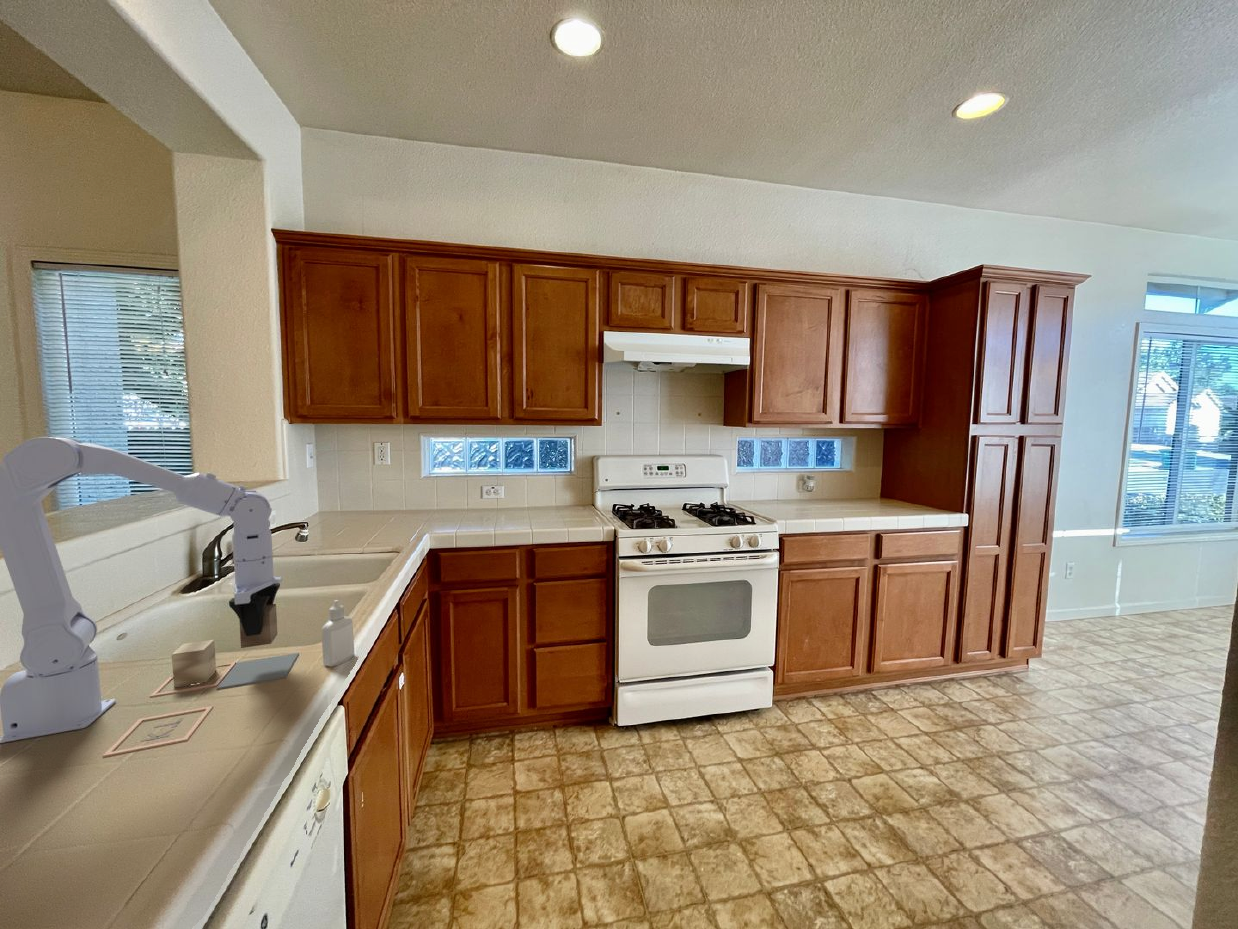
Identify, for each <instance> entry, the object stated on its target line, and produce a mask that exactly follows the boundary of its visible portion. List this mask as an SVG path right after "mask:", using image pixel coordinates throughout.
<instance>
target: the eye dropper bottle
mask: <svg viewBox="0 0 1238 929" xmlns="http://www.w3.org/2000/svg"><path fill="white" fill-rule="evenodd" d="M328 612H329V620H327V622H326V623H325V624H323V626H322V628H321V644H322V648H321V649H322V662H323V663H322V664H323V666H325V667H331V668H333V667H336V666H339V665H342V664H345V662H347V661H349V660H350V659H352V658H353V657H354V655H355V642H354V641H355V639H354V638H355V637H354V625H353V624H354V620H353V619H352V618H351V617H350V616H345V606H344V605H342V604H340V602H339V599H335V600H334V601H333V605H332V606H331V607H330V608H329V611H328Z"/></svg>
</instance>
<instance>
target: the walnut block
mask: <svg viewBox="0 0 1238 929" xmlns="http://www.w3.org/2000/svg"><path fill="white" fill-rule="evenodd" d="M277 617H278V616H277V604H276V603H273V604H271V605H266V606H265V610H264V616H263V626H262V631H261V633H260V634H259V635H252V636H246V634H245V632H244V630H243V627H242V624H241V622H240V619H239V618H238V620H239V634H240V635H239V636H240V648H241V649H244V648H252V647H258V646H264V645H271V644H272V643H273V641H275V639H276V637H277V636H278V618H277Z"/></svg>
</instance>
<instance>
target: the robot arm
mask: <svg viewBox="0 0 1238 929" xmlns="http://www.w3.org/2000/svg"><path fill="white" fill-rule="evenodd" d="M79 474H80V476H95V475H97V476H98V475H115V476H118V477H121V478H124V479H128V480H131V481H133V482H138V483H141V484H144V485H147V486H151V487H154V488H158V489H161V490H164V491H167V492H170V493H173V494H174V495H175V497H176V500H177V502H178V503H179V504H182V505H185V506H187V507H192V508H194V509H197V510H199V511H203V512H207V513H210V514H212V515H216V516H220V517H226V516H227V517H230V520H232V521H233V523H232V524H233V533H232V536H231V539H232V540H231V541H232V556H233V568H234V569H233V570H234V582H235V583H233V589H234V593H233V598H231V599H230V600H229V601H228V605H229V608H231V609H232V611H234V613H235V614H236V616H237V617H238V620H239V619H240V621H239V623H240V622H241V624H242V627H243V630H244V632H245V634H246V636H252V635H259V634H260V633H261V631H262V626H263V616H264V610H265V606H266V605H271V604H274V601H275V598H276V596H277V593H278V591H279V589H280V587H281V582H282V580H283V579H282V578H283V577H282V576H275V574H274V572H275V571H274V557H273V554H274V553H273V538H272V531H271V529H270V527H271V522H270V520H269V518H270V516H271V514H272V508H271V505H270V503H269V500H268V499H267V498H266V496H265V495H263V494H261V493H259V492H258V491H256V490H253V489H252V490H247V489H248V487H247V486H245V485H243V484H240V486H237V485H234V484H232V483H229V482H226V481H224V480H221V479H218V478H217V474H214V473H211V472H207V473H206V474H204V473H202V472H195V473H192V474H188V475H183V474H181V473H178V472H175V471H173V470H170V469H167V468H164V467H163V466H160V465H157V464H155V463H152V462H150V461H146V460H144V459H141V458H138V457H136V456H134V455H131V454H128V453H125V452H123V451H120V450H118V449H114V448H110V447H107V446H103V445H99V444H97V443H96V444H95V443H91V442H82V441H81V440H78V439H76V438H73V437H68V436H54V437H50V436H41V437H40V436H39V437H33V438H30V439H27V440H24V441H23V442H21V443H19V445H17V446H15V447H14V448H13V449H12V450H10V451H9V452H7V453H6V454H4V455H3V456H2V458H1V463H0V551H1V553H2V556H3V558H4V562H5V565H6V568H7V571H8V573H9V576H10V579H11V582H12V585H13V588H14V592H15V594H16V596H17V599H18V602H19V604H20V605H19V606H20V607H21V610H22V613H23V617H22V618H23V619H22V623H21V624H22V625H21V635H22V638H23V647H22V649H21V651H20V654H19V660H20V664H21V665H22V667H23V668H24V670H20V671H17V672H14V673H13V674H12V675H10V676H9V677H8V678H6V680H5V682H4V683H3V685H2V688H1V690H0V714H1V715H0V716H1V725H2V726H1V727H2V737H1V738H0V744H2V743H7V742H13V741H18V740H19V741H20V740H25V739H31V738H37V737H41V736H47V735H53V734H58V733H63V732H70V731H75V730H81V729H85V728H87V727H88V726H89V725H91V724H92V723H93V722H94V721H96V719H97V718H99V717H100V716H101V715H103V713H104V712H106V711H107V710H108V709H109V708H110V707H112V705H114V704H116V702H117V700H116V698H112V699H105V700H102V693H101V692H102V691H101V681H100V680H101V678H100V671H99V670H100V669H99V658H98V657H99V656H98V655H99V654H98V653H97V652H96V651H95V650H94V649H92V647H91V646H90V644H92V642H93V641H94V640H95V638H96V636H97V633H98V627H97V624H96V622H95V621H94V620H93V619H92V618H90V617H89V616H88V615H86V614H85V612H84V611H83V609H82V608H83V607H82V605H81V604H80V603H79V602H78V601H77V600H76V599H75V598H74V597H73V594H72V591H71V588H70V585H69V581H68V579H67V575H66V573H65V570H64V567H63V564H62V561H61V557H60V555H59V553H58V549H57V546H56V542H55V541H54V538H53V533H52V531H51V529H50V525H49V522H48V520H47V517H46V513H45V510H44V507H43V504H42V501H43V500H44V499H45V498H46V497H47V496H49V495H50V493H51V492H52V491H54V490H55V489H56V488H57V487H58V486H59V484H61V483H63V482H65V481H67V480H68V479H71V478H73V477H74V476H77V475H79Z"/></svg>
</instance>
